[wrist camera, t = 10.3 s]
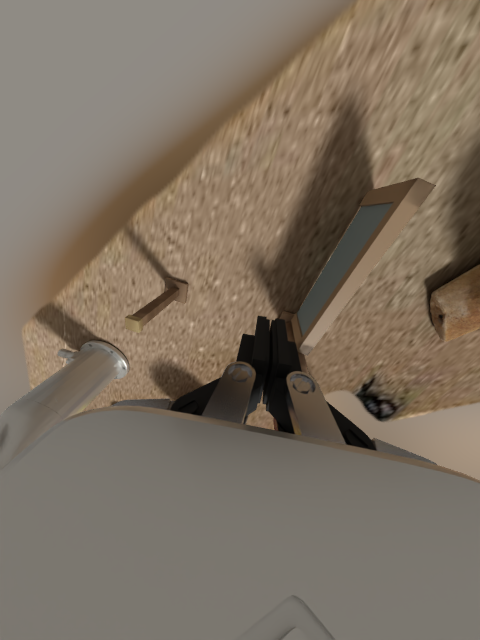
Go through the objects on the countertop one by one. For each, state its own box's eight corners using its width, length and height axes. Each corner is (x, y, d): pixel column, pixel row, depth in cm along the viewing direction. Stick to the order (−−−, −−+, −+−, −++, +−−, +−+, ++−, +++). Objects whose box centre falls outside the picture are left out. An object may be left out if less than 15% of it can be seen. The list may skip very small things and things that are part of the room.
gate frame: (308, 318, 33) (330, 377, 21) (297, 339, 35) (310, 402, 23) (167, 274, 33) (107, 308, 21) (166, 298, 35) (112, 340, 23)
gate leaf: (299, 323, 32) (307, 355, 25) (291, 320, 32) (296, 351, 25) (379, 196, 22) (435, 185, 14) (367, 191, 22) (418, 177, 14)
